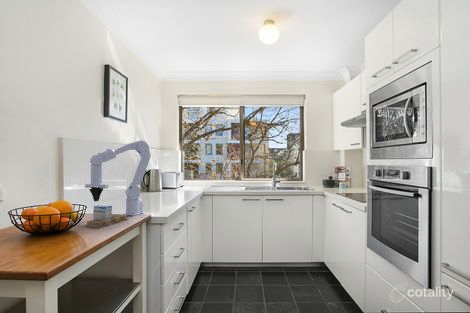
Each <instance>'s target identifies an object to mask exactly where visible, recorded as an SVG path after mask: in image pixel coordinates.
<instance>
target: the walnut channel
mask: <svg viewBox="0 0 470 313" xmlns="http://www.w3.org/2000/svg"><path fill="white" fill-rule="evenodd" d="M127 220H128V215H123V214H117V213H116V214H115V213H113V214H112V219H108V220H102V219H95V220H93V219H91V220H87V222H86V227H89V228H98V229H102V228H106V227H109V226H111V225H115V224H118V222H119V223H121V221H122V222H124V221H127Z"/></svg>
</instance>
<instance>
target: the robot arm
mask: <svg viewBox="0 0 470 313" xmlns="http://www.w3.org/2000/svg"><path fill="white" fill-rule="evenodd" d="M130 150H131V151H135V152H136V153H138V155H139V157H140V160H139V162H138V166H137V168H136V170H135V173H134V176H133V179H132V181H131V183H130V184H129V186H128V188H126V190H125V195H126V198H125V212H124V213H122V215H127V216H132V217H133V216H137V215H140V214H144V211H143V210H144V208H143V200H142V199H141V198H140V194H141V193H140V191H141V190H140V189H141V184H142V182H143V178H144V176H145V173H146V172H147V168H148V165H149V163H150V159H151V152H150V145H149V144H148V142H147V141H145V140H137V141H135V142H129V143H127V144H124V145H123V146H121V147H118V148H116V149H113V148H107V149H105V151H102V152H97V154H95V155H92V156H91V158H90V161H89V162H90V164H91V165H90V183H85V184H84V188H86V189H87V188H88V190H89V192H90V193H91V196H92V198H93V202H100V197H101V194H102V192H103V191H104V190H105V189H109V184H103V163H107V162H109V161H111V160H114V159H116V157H117V155H119V154H123V153H125V152H128V151H130Z"/></svg>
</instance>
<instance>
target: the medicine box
mask: <svg viewBox="0 0 470 313" xmlns="http://www.w3.org/2000/svg"><path fill="white" fill-rule="evenodd" d="M112 215H113V205H100V204H99V205H94V206H93V214H92V216H93V219H92V220H95V219H102V220H108V219H112Z"/></svg>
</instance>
